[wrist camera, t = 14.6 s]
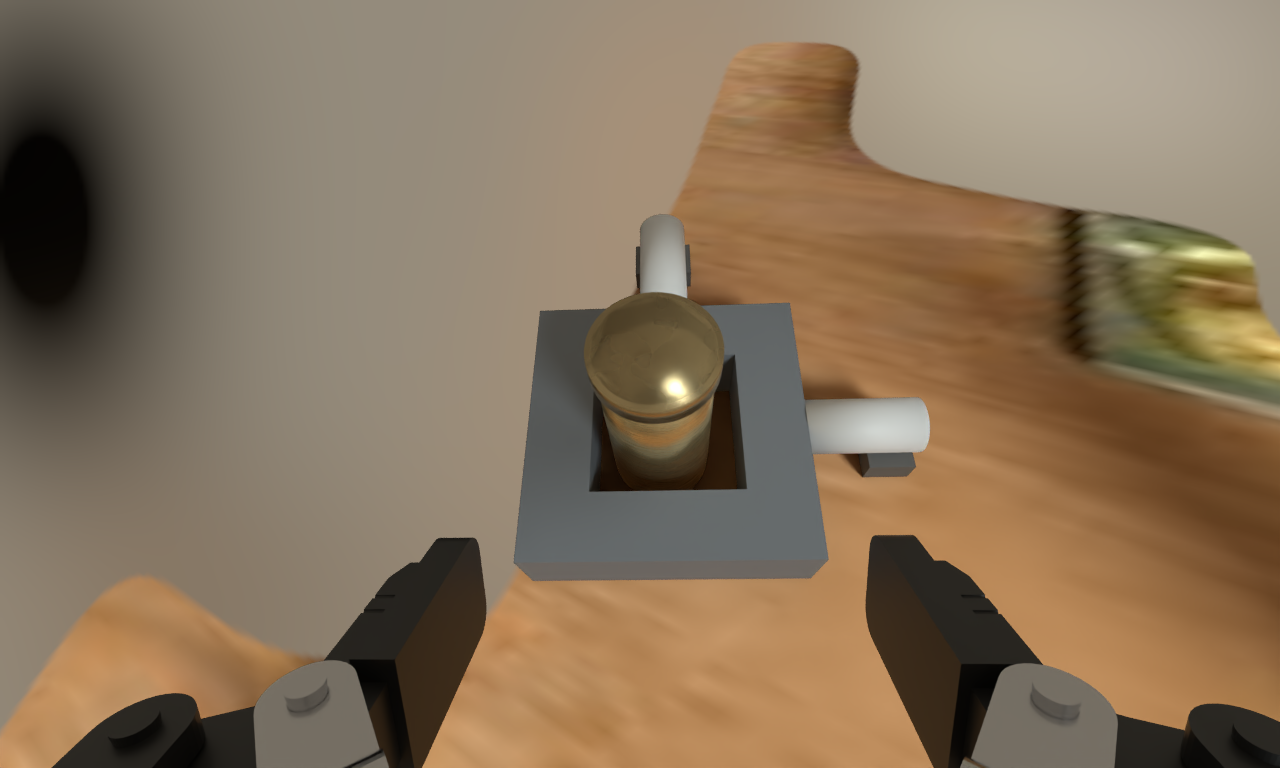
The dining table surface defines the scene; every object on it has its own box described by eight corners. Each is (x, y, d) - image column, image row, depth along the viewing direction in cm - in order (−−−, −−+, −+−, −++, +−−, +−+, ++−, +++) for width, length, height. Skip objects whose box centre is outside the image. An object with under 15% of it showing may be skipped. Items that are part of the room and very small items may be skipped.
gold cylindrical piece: (708, 409, 29) (719, 289, 21) (714, 502, 27) (729, 408, 19) (612, 411, 30) (586, 294, 21) (610, 504, 27) (580, 412, 19)
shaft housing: (855, 252, 34) (873, 205, 31) (930, 577, 25) (966, 557, 22) (561, 263, 35) (549, 218, 32) (533, 580, 26) (513, 562, 23)
